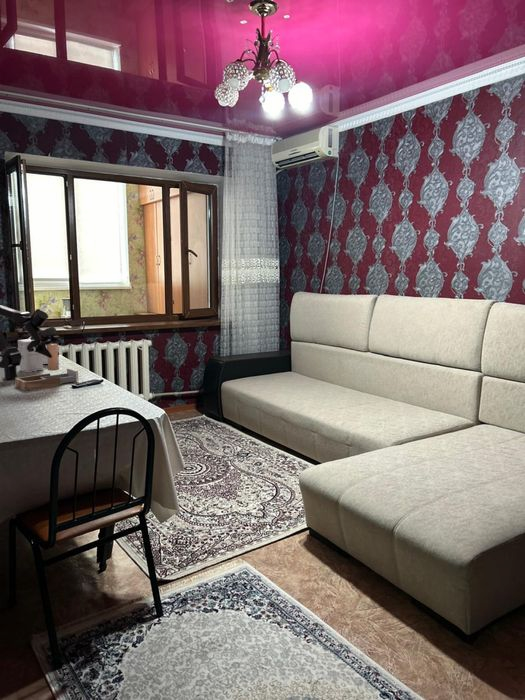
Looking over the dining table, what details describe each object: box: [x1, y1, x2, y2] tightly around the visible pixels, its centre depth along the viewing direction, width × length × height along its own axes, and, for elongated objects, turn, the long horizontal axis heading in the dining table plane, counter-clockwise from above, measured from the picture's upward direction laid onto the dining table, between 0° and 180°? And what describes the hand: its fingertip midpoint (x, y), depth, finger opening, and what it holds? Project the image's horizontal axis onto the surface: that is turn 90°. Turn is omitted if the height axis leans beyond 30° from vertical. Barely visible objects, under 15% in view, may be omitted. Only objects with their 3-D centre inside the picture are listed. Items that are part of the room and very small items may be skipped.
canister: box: [47, 344, 60, 372], centre depth 266 cm, size 5×5×12 cm
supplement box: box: [17, 338, 44, 373], centre depth 297 cm, size 10×9×17 cm
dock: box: [14, 372, 62, 392], centre depth 262 cm, size 12×17×4 cm
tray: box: [40, 367, 79, 384], centre depth 269 cm, size 10×15×5 cm, turn 134°
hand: (55, 356), depth 265 cm, fingers closed on canister, 5 cm apart
